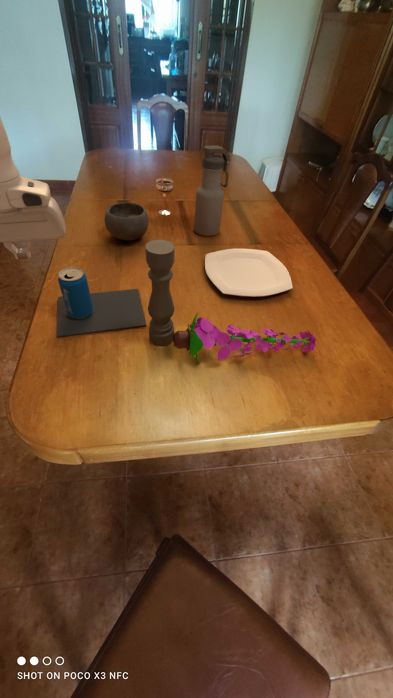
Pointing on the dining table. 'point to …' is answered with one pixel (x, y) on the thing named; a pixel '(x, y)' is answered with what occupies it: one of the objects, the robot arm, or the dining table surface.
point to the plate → (247, 272)
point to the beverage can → (75, 292)
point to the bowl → (126, 220)
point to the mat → (103, 314)
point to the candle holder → (160, 291)
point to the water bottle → (211, 191)
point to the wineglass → (164, 191)
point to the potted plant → (234, 339)
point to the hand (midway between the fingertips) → (23, 257)
